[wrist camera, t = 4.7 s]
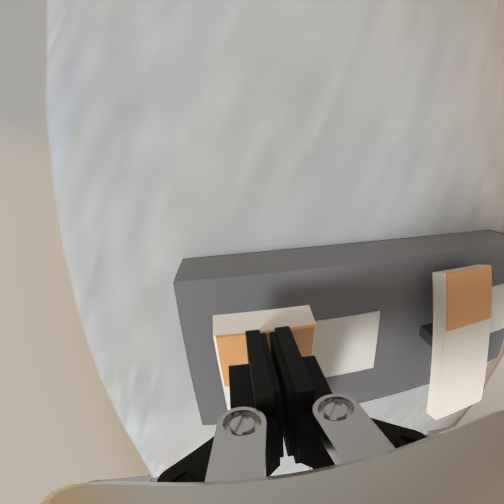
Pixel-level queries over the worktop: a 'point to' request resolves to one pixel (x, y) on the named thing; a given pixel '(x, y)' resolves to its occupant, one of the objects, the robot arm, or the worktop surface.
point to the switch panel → (337, 307)
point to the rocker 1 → (234, 326)
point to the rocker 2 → (459, 338)
